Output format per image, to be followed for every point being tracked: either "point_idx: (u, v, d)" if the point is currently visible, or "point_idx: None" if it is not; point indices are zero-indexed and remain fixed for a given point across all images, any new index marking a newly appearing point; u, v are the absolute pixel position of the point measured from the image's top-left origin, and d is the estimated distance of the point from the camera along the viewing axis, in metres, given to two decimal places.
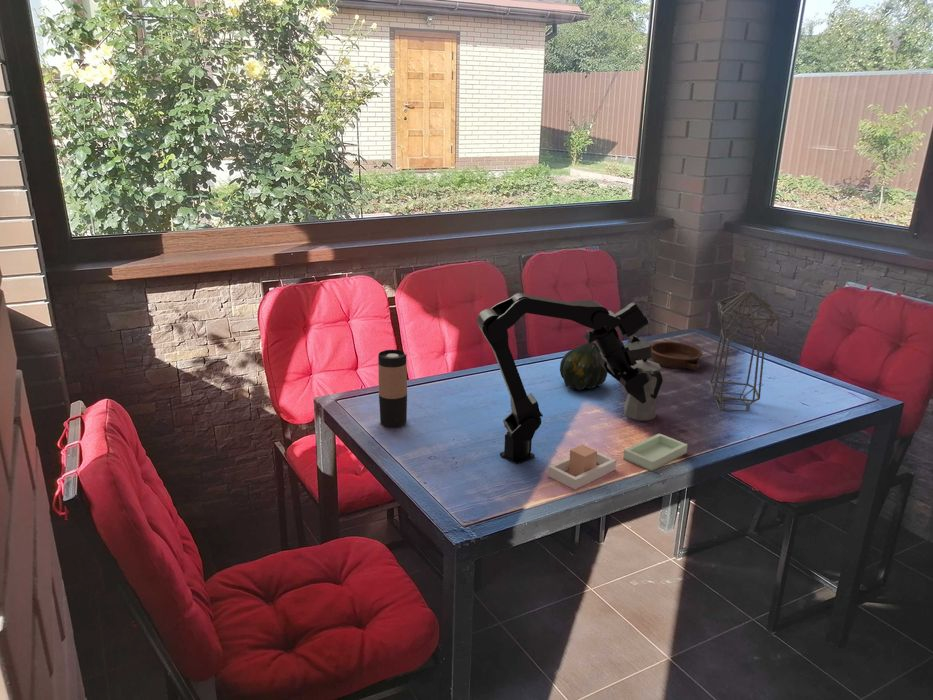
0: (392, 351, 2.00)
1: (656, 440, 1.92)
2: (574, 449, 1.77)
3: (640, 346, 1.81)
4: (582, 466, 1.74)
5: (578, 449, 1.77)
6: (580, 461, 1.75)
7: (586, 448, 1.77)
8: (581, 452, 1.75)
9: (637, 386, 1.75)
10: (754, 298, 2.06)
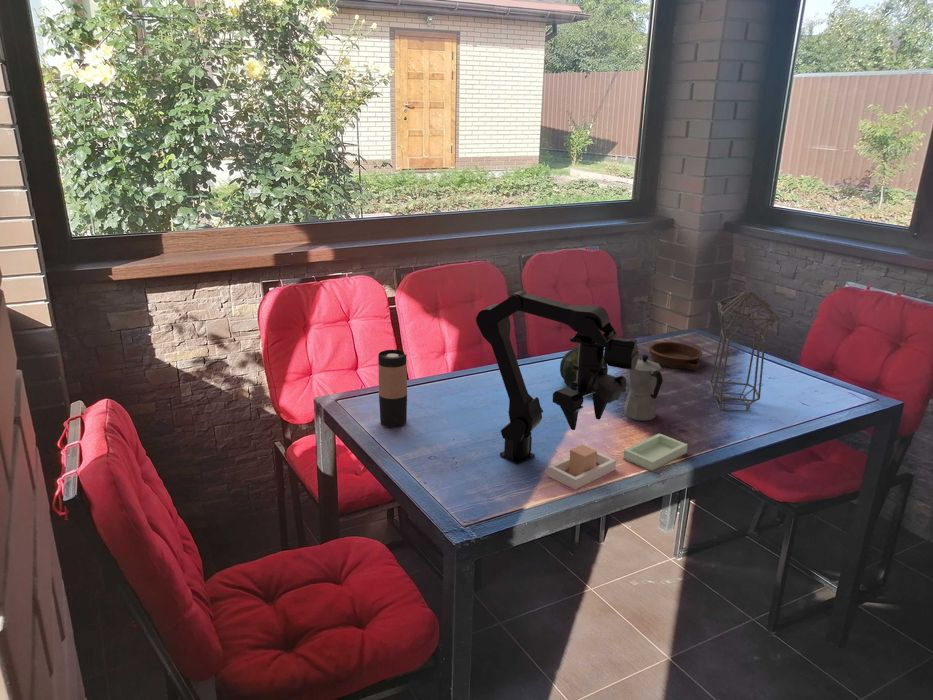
0: (392, 351, 2.00)
1: (656, 440, 1.92)
2: (574, 449, 1.77)
3: (608, 385, 1.65)
4: (582, 466, 1.74)
5: (578, 449, 1.77)
6: (580, 461, 1.75)
7: (586, 448, 1.77)
8: (581, 452, 1.75)
9: (559, 403, 1.66)
10: (754, 298, 2.06)
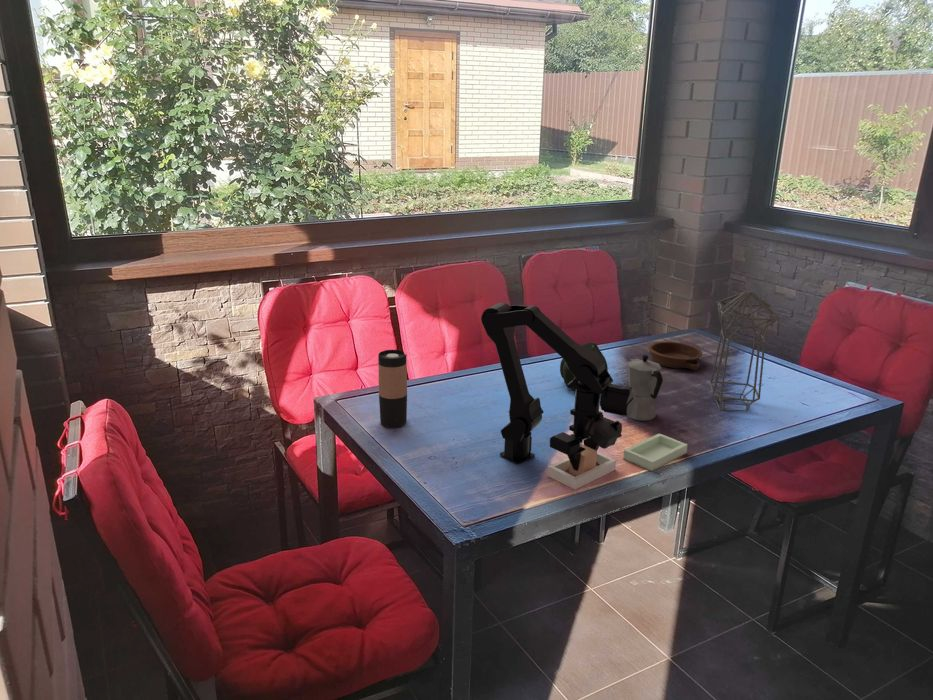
0: (392, 351, 2.00)
1: (656, 440, 1.92)
2: None
3: (604, 431, 1.69)
4: (582, 466, 1.74)
5: None
6: (580, 461, 1.75)
7: (586, 448, 1.77)
8: (581, 452, 1.75)
9: (556, 448, 1.70)
10: (754, 298, 2.06)
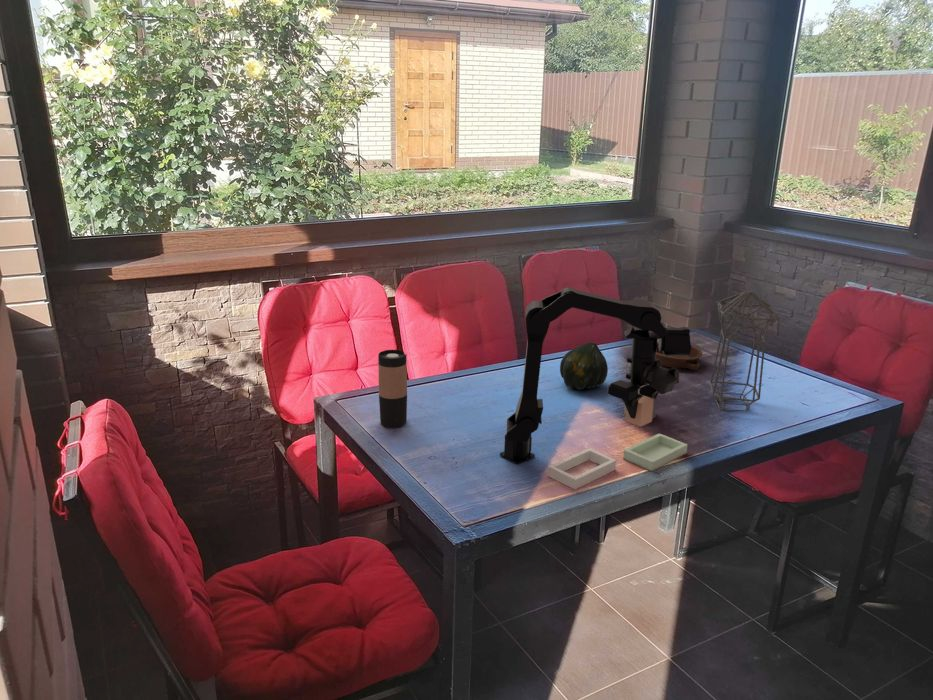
0: (392, 351, 2.00)
1: (656, 440, 1.92)
2: None
3: (662, 377, 1.71)
4: (639, 413, 1.77)
5: None
6: (638, 409, 1.77)
7: None
8: (638, 400, 1.77)
9: (615, 394, 1.72)
10: (754, 298, 2.06)
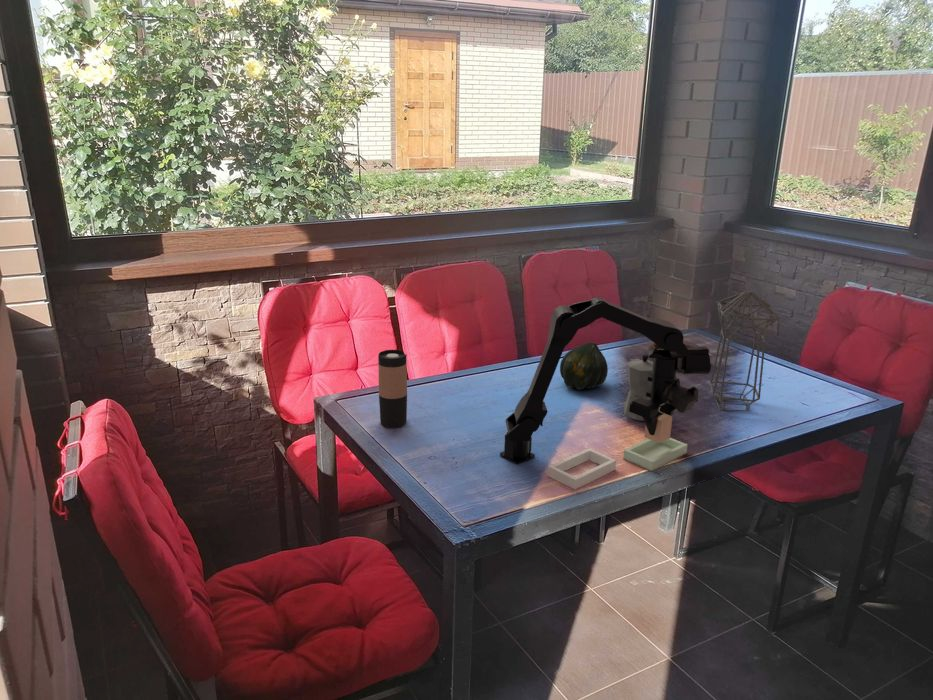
0: (392, 351, 2.00)
1: None
2: None
3: (682, 396, 1.76)
4: (659, 430, 1.81)
5: None
6: (657, 426, 1.82)
7: None
8: None
9: (636, 412, 1.77)
10: (754, 298, 2.06)
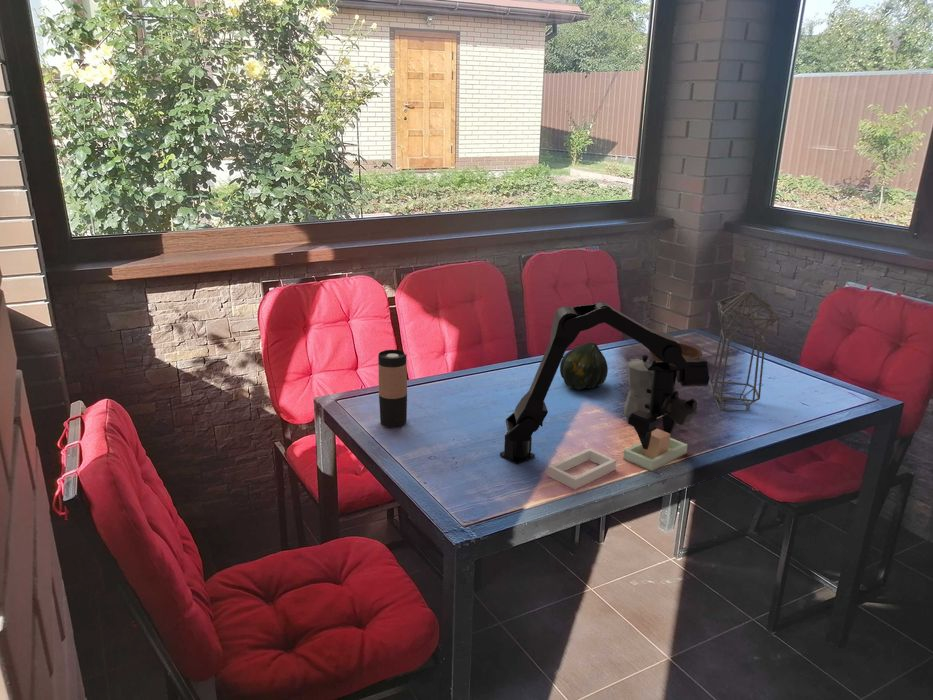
0: (392, 351, 2.00)
1: None
2: None
3: (681, 408, 1.77)
4: (657, 448, 1.83)
5: (652, 432, 1.85)
6: (655, 443, 1.83)
7: (659, 431, 1.86)
8: (656, 435, 1.84)
9: (635, 424, 1.78)
10: (754, 298, 2.06)
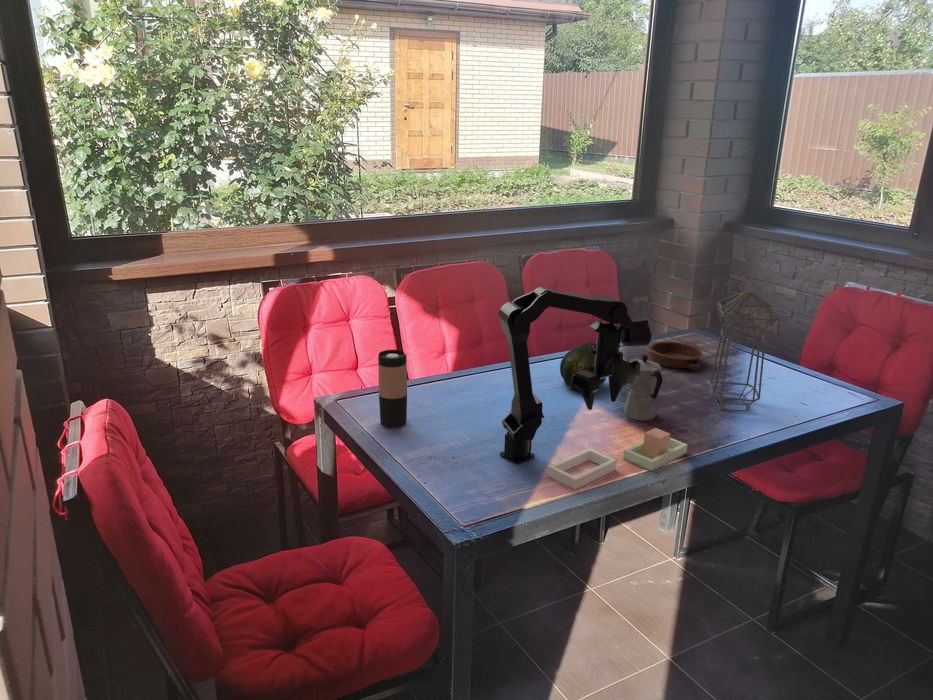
0: (392, 351, 2.00)
1: None
2: (648, 432, 1.85)
3: (623, 368, 1.79)
4: (657, 448, 1.83)
5: (652, 432, 1.85)
6: (655, 443, 1.83)
7: (659, 431, 1.86)
8: (656, 435, 1.84)
9: (578, 383, 1.80)
10: (754, 298, 2.06)
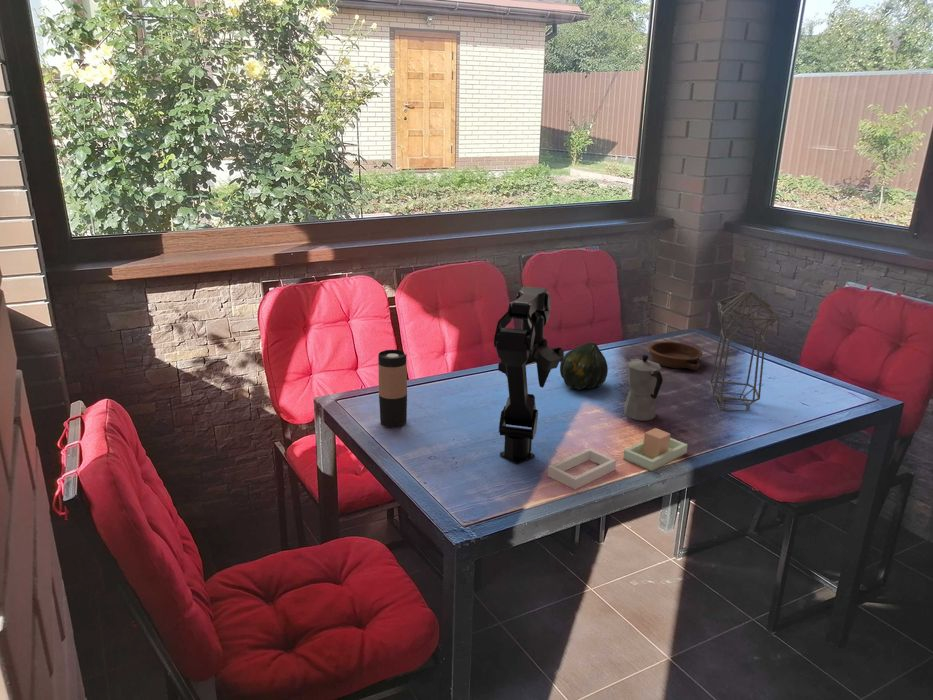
0: (392, 351, 2.00)
1: None
2: (648, 432, 1.85)
3: (546, 355, 1.86)
4: (657, 448, 1.83)
5: (652, 432, 1.85)
6: (655, 443, 1.83)
7: (659, 431, 1.86)
8: (656, 435, 1.84)
9: (504, 371, 1.87)
10: (754, 298, 2.06)
